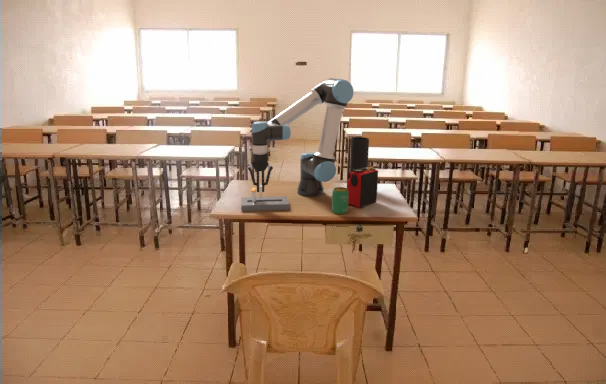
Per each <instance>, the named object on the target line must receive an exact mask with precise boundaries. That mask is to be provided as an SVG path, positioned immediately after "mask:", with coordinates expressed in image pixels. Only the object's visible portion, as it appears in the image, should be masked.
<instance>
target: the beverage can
mask: <svg viewBox="0 0 606 384" xmlns="http://www.w3.org/2000/svg"><path fill="white" fill-rule="evenodd" d="M331 192H332V193H331V194H332V196H331V211H332V213H333V214H335V213H336V214H335V215H345V214H347V213H348V211H349V202H348V194H349V192H348V190H347V187H342V186H337V187H334V188H333V190H332V191H331Z"/></svg>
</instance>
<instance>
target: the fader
mask: <svg viewBox="0 0 606 384" xmlns="http://www.w3.org/2000/svg"><path fill="white" fill-rule="evenodd" d="M251 197H252V202H256V197H257V187H251Z"/></svg>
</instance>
